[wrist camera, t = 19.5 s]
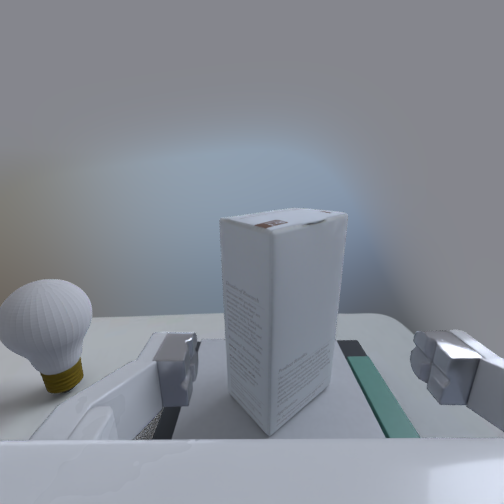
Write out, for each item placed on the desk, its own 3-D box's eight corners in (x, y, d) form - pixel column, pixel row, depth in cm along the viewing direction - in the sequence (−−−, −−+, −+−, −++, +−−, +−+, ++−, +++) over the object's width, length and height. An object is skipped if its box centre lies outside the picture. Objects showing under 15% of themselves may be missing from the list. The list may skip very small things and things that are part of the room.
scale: (354, 362, 25) (358, 330, 24) (470, 573, 12) (489, 523, 11) (190, 363, 25) (187, 332, 24) (122, 576, 12) (109, 526, 11)
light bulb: (79, 358, 26) (56, 264, 23) (120, 375, 24) (101, 274, 21) (7, 403, 21) (-33, 291, 18) (51, 431, 19) (12, 307, 16)
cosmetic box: (286, 355, 21) (291, 205, 18) (335, 388, 18) (352, 211, 14) (223, 396, 17) (213, 214, 14) (270, 447, 14) (272, 226, 11)
